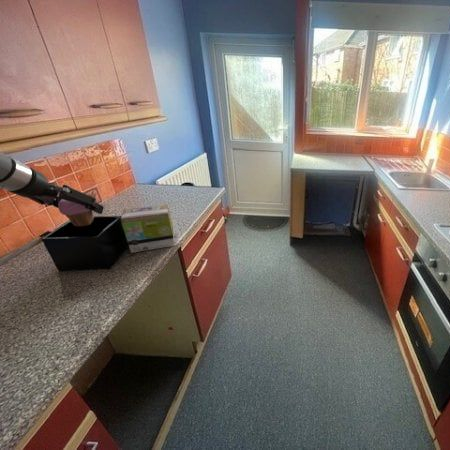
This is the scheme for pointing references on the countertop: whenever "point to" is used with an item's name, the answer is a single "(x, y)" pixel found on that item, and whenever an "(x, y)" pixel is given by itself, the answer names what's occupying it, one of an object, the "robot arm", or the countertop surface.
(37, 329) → the countertop surface
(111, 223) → the waste bin
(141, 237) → the tea box
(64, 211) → the cupcake
